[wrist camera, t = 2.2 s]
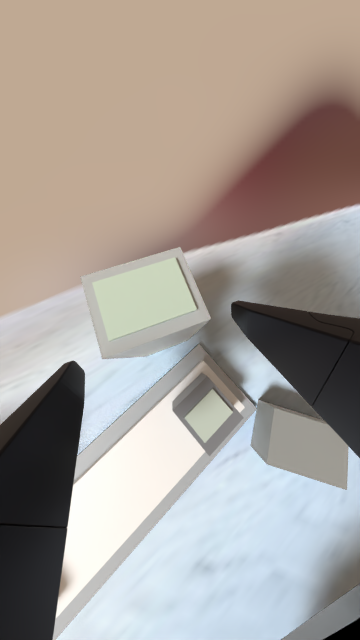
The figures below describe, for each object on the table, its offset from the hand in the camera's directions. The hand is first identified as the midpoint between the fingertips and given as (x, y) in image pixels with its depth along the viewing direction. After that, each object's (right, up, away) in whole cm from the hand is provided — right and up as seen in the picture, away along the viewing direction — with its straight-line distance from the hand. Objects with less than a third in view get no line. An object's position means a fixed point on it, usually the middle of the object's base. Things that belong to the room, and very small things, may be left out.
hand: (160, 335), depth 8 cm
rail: (-4, -14, +6) cm, 16 cm away
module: (-1, -1, +9) cm, 9 cm away
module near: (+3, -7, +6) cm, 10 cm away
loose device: (+12, -11, +8) cm, 18 cm away
